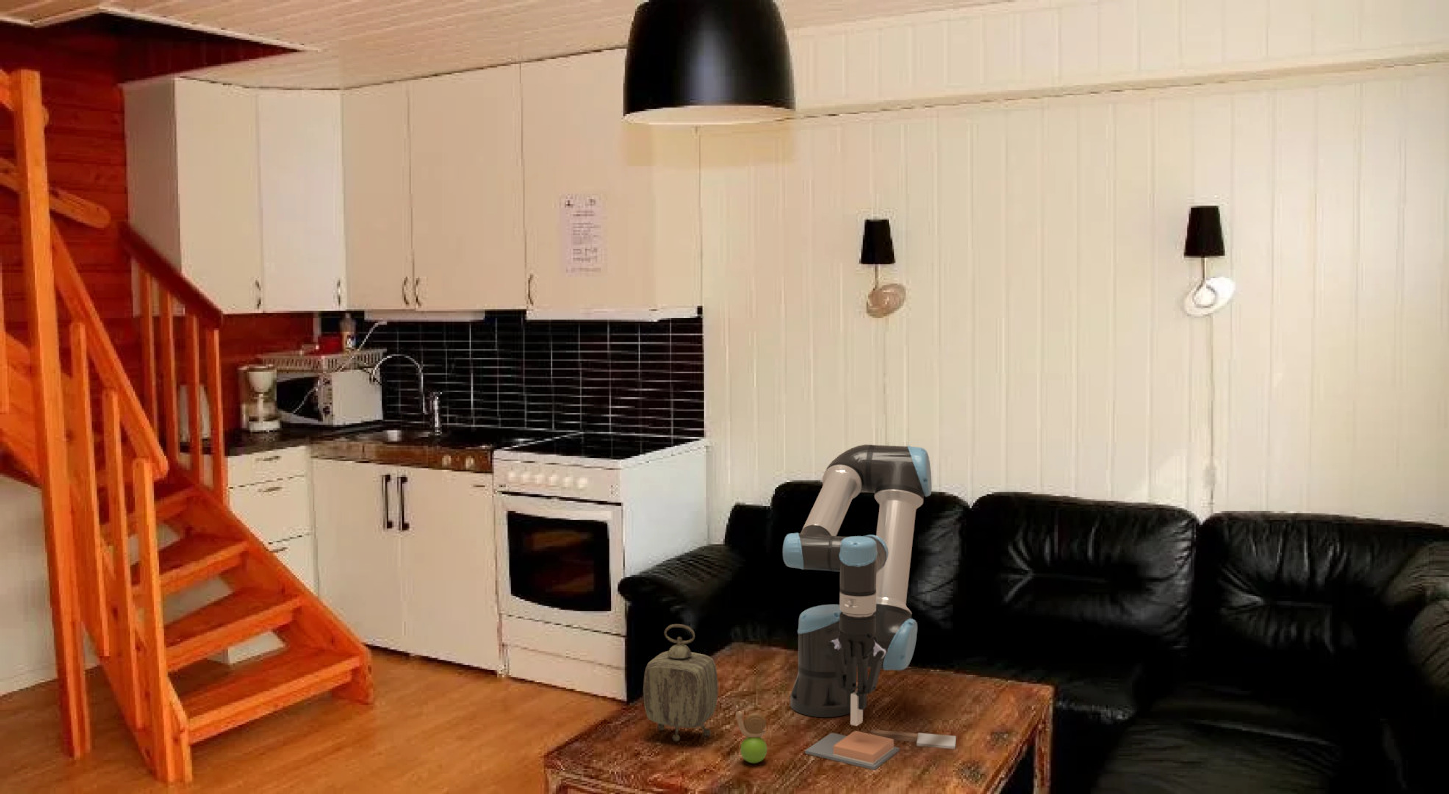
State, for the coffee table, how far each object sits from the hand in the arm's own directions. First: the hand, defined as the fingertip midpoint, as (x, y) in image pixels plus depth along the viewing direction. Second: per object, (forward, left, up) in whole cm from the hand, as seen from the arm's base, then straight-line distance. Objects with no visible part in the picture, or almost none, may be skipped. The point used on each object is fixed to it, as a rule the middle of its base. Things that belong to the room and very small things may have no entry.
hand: (856, 723), depth 251 cm
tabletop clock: (-36, -13, -7) cm, 39 cm away
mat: (-1, 0, -6) cm, 6 cm away
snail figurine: (-16, -16, -7) cm, 24 cm away
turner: (+7, +13, -7) cm, 16 cm away
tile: (-3, 0, -5) cm, 6 cm away
